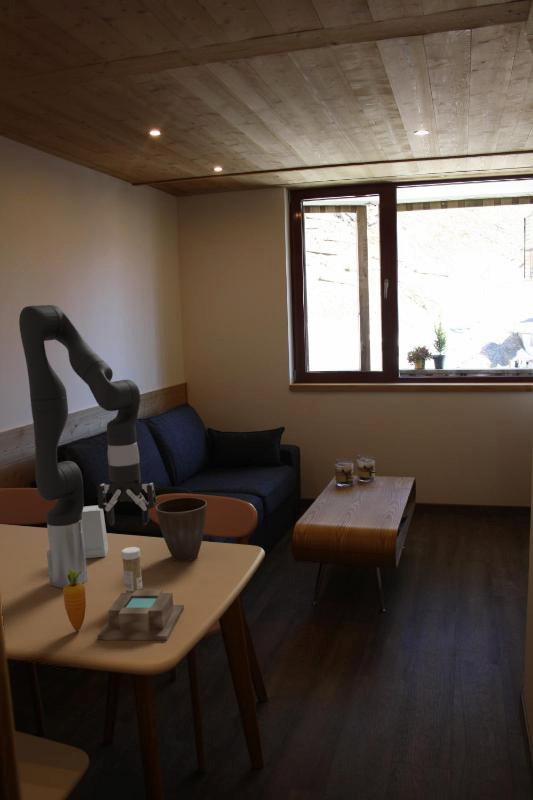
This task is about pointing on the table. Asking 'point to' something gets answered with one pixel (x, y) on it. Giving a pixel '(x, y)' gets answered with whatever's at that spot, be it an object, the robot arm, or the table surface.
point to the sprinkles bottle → (132, 569)
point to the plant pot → (182, 526)
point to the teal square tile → (141, 603)
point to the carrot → (75, 600)
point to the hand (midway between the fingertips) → (128, 524)
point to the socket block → (142, 617)
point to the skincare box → (94, 532)
